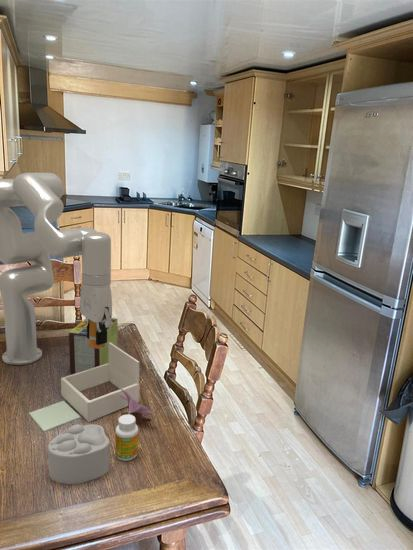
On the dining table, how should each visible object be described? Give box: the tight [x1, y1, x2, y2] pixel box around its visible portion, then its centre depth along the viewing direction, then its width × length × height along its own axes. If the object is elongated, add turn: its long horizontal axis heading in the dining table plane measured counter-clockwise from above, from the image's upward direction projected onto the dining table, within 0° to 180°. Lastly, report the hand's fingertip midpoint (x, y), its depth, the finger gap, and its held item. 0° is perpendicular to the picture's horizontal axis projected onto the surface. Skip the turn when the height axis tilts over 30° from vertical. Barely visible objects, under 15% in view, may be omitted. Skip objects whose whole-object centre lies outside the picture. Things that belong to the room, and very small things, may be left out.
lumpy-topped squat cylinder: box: [47, 423, 111, 485], centre depth 98 cm, size 10×13×9 cm
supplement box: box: [89, 318, 104, 349], centre depth 120 cm, size 3×3×10 cm
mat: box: [28, 400, 81, 433], centre depth 117 cm, size 10×10×1 cm
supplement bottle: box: [114, 413, 139, 462], centre depth 103 cm, size 5×5×10 cm
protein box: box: [68, 317, 119, 376], centre depth 142 cm, size 10×15×16 cm
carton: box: [60, 343, 141, 423], centre depth 125 cm, size 16×16×13 cm
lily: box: [119, 388, 155, 421], centre depth 116 cm, size 12×12×10 cm
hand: (96, 339), depth 121 cm, fingers closed on supplement box, 4 cm apart
